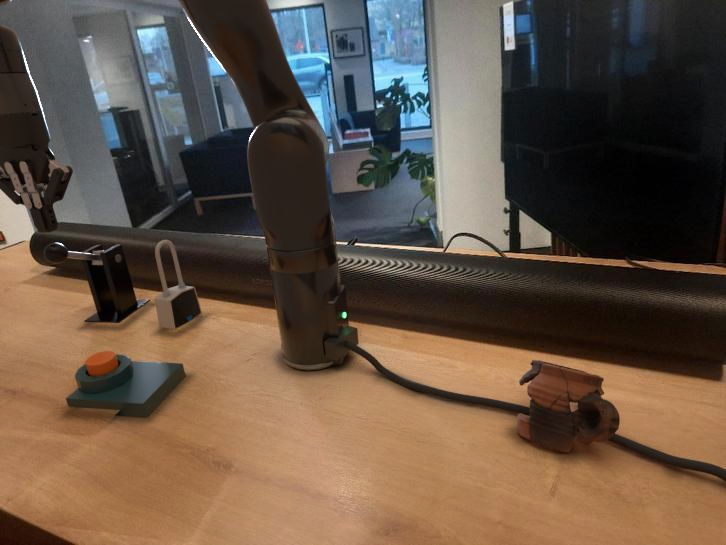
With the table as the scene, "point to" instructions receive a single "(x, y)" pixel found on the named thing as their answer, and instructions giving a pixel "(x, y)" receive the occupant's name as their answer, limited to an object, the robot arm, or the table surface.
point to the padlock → (175, 296)
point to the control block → (127, 387)
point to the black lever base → (111, 286)
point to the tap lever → (69, 254)
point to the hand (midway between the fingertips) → (48, 231)
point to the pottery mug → (565, 407)
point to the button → (101, 363)
